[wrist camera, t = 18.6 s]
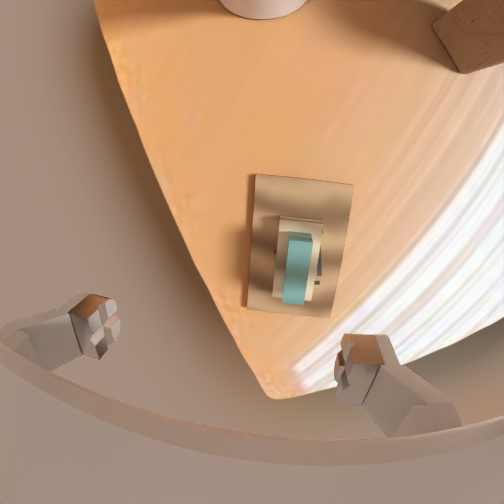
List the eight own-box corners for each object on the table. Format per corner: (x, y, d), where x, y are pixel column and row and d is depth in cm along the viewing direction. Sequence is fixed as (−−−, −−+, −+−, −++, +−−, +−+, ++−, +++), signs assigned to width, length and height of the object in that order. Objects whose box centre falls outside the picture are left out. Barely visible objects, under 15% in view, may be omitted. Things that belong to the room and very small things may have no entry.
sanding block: (280, 215, 41) (278, 227, 35) (321, 219, 41) (326, 232, 35) (273, 289, 45) (269, 310, 39) (310, 293, 45) (312, 315, 39)
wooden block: (460, 76, 29) (537, 54, 11) (427, 25, 27) (489, -22, 9) (491, 64, 26) (563, 46, 8) (462, 16, 24) (522, -21, 6)
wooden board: (256, 173, 41) (255, 174, 40) (352, 184, 39) (353, 185, 38) (247, 306, 48) (246, 309, 47) (329, 315, 47) (329, 318, 46)
